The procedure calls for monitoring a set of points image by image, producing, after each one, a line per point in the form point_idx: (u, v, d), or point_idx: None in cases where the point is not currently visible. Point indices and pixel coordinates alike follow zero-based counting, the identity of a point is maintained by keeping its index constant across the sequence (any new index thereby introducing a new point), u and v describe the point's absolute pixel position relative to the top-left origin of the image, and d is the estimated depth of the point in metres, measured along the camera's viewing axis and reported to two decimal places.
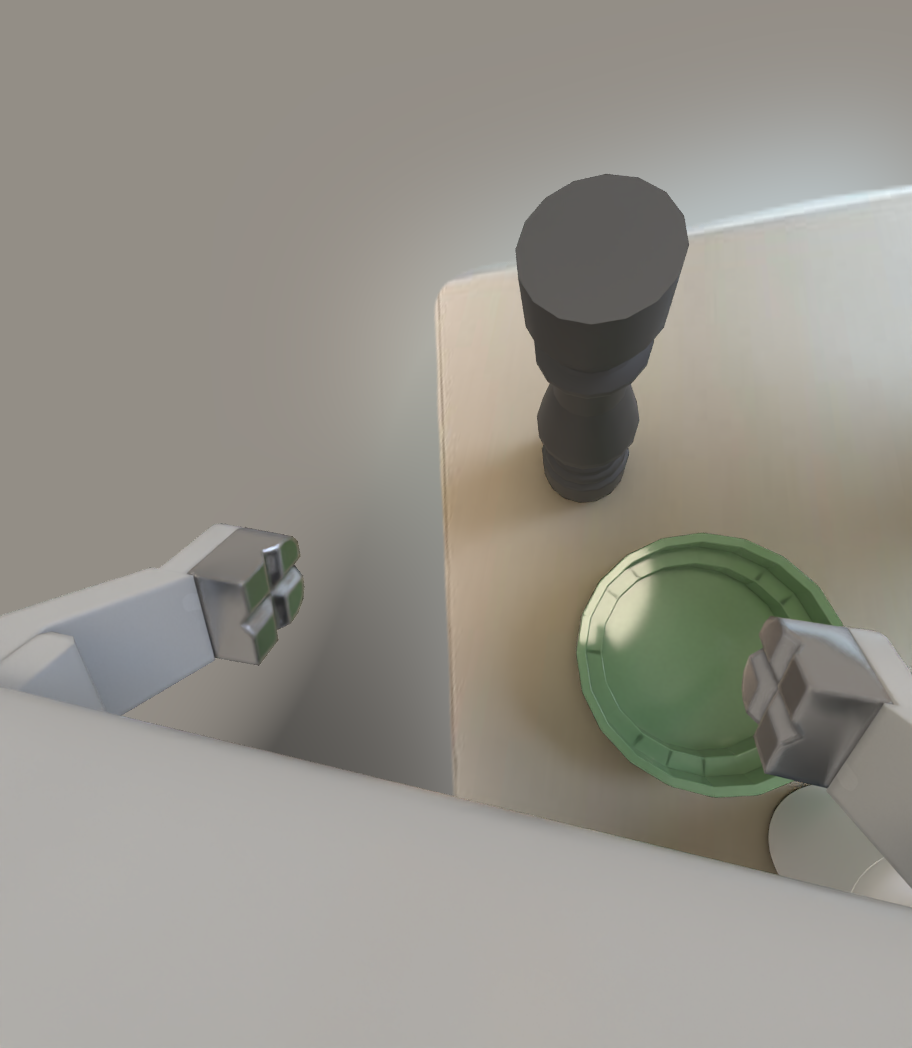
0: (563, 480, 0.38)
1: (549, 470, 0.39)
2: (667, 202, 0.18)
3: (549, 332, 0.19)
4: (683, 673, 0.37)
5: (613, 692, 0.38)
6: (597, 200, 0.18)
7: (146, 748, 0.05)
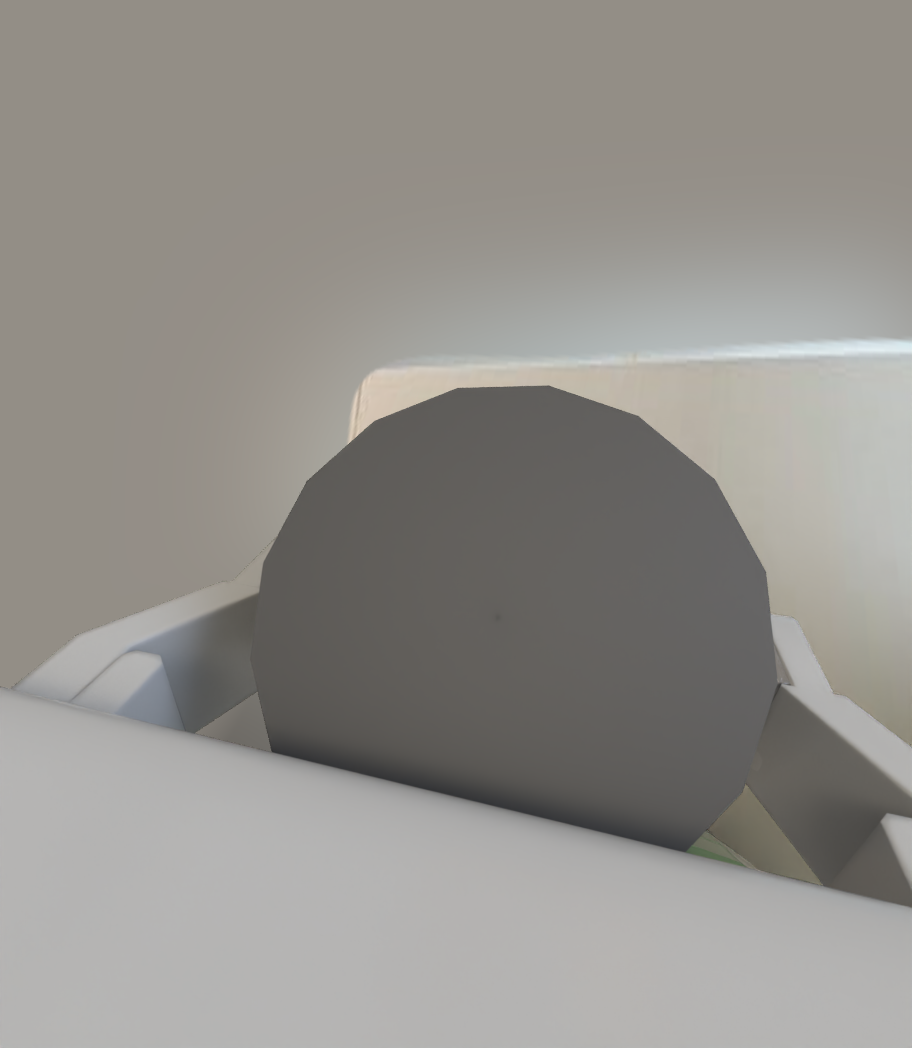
0: None
1: None
2: (717, 515, 0.06)
3: None
4: None
5: None
6: (514, 460, 0.06)
7: (146, 748, 0.05)
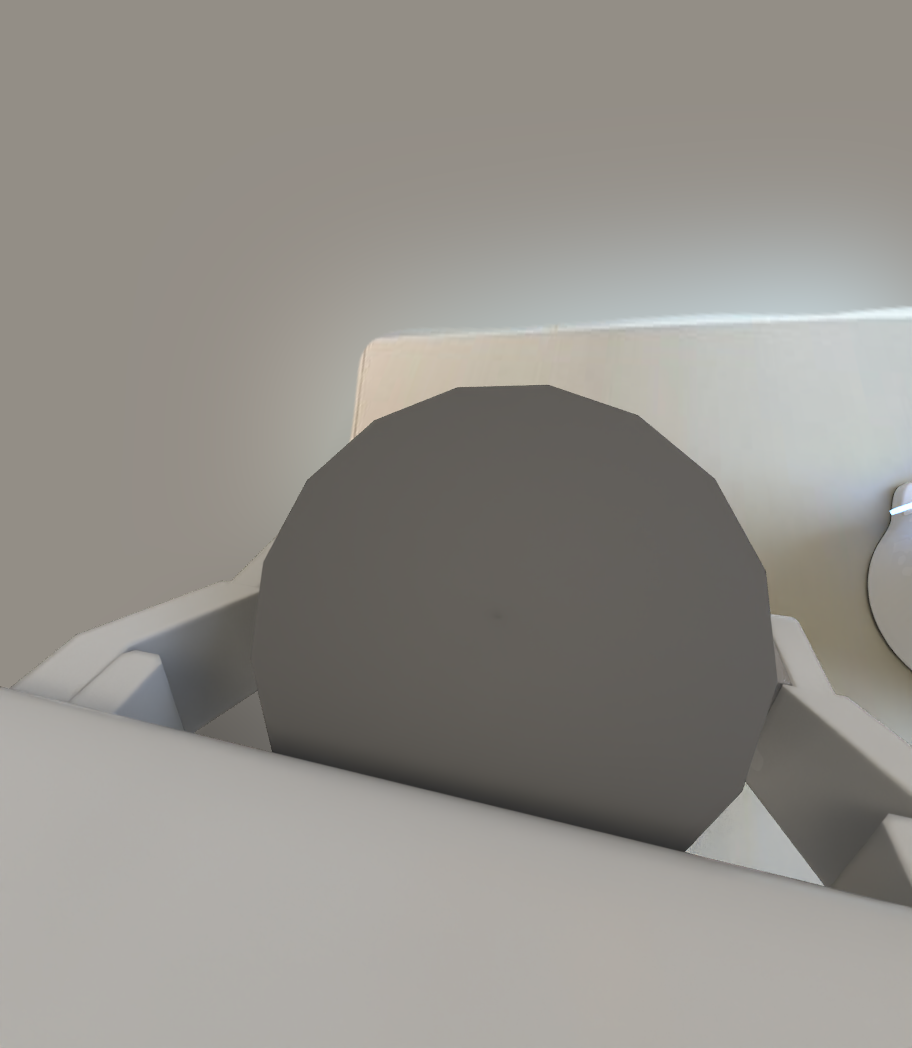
0: None
1: None
2: (717, 514, 0.06)
3: None
4: None
5: None
6: (514, 459, 0.06)
7: (146, 748, 0.05)
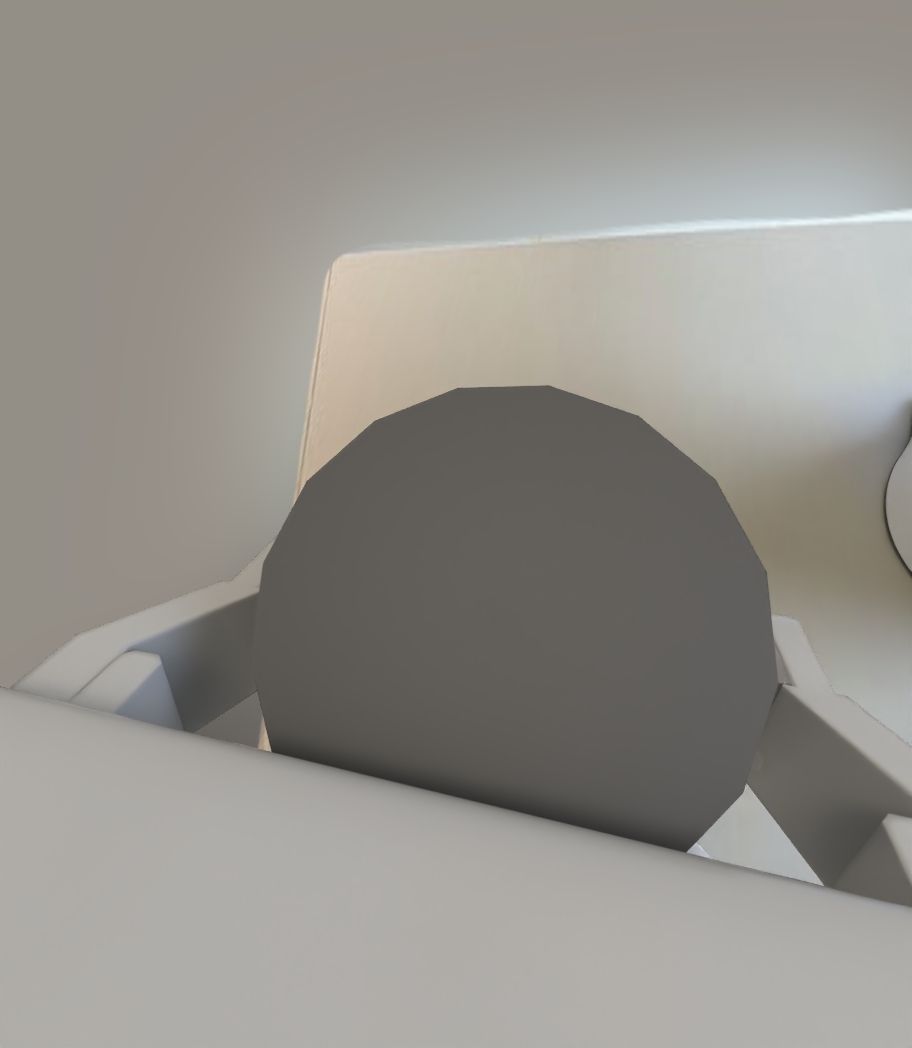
0: None
1: None
2: (718, 516, 0.06)
3: None
4: None
5: None
6: (514, 460, 0.06)
7: (146, 748, 0.05)
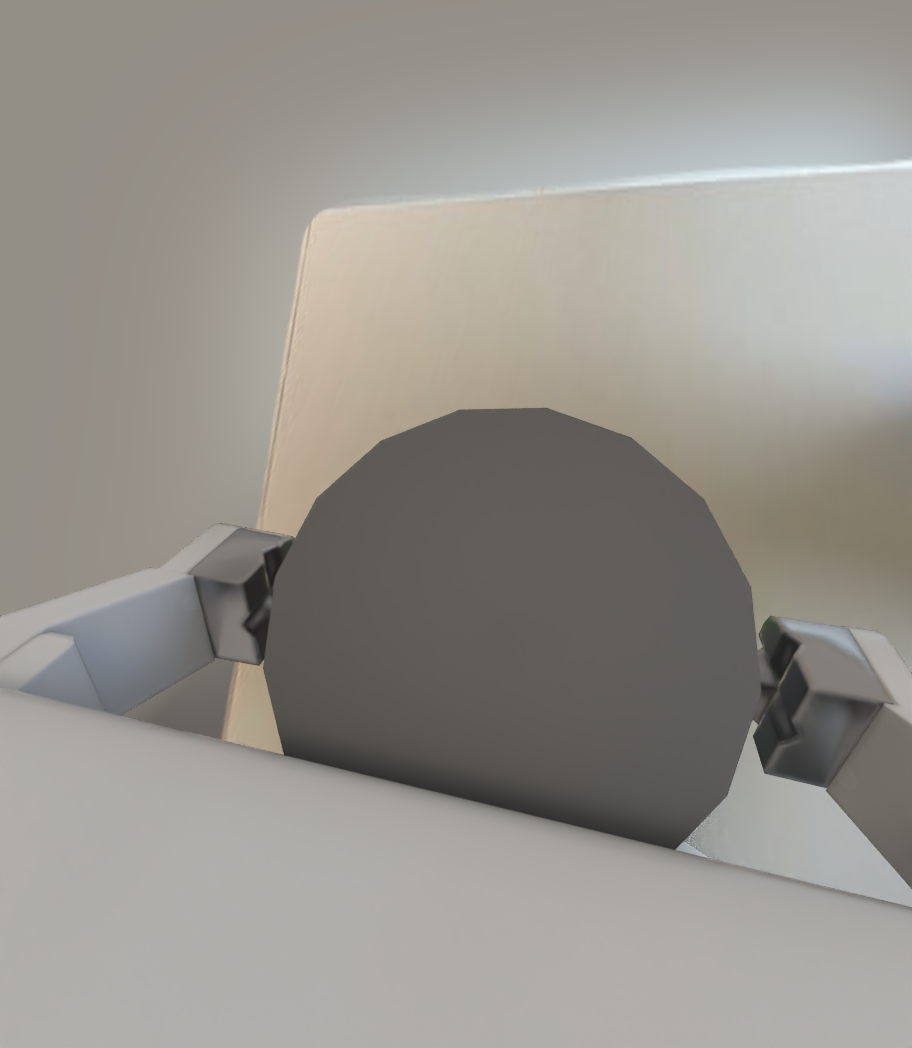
0: None
1: None
2: (705, 533, 0.06)
3: None
4: None
5: None
6: (513, 480, 0.07)
7: (146, 748, 0.05)
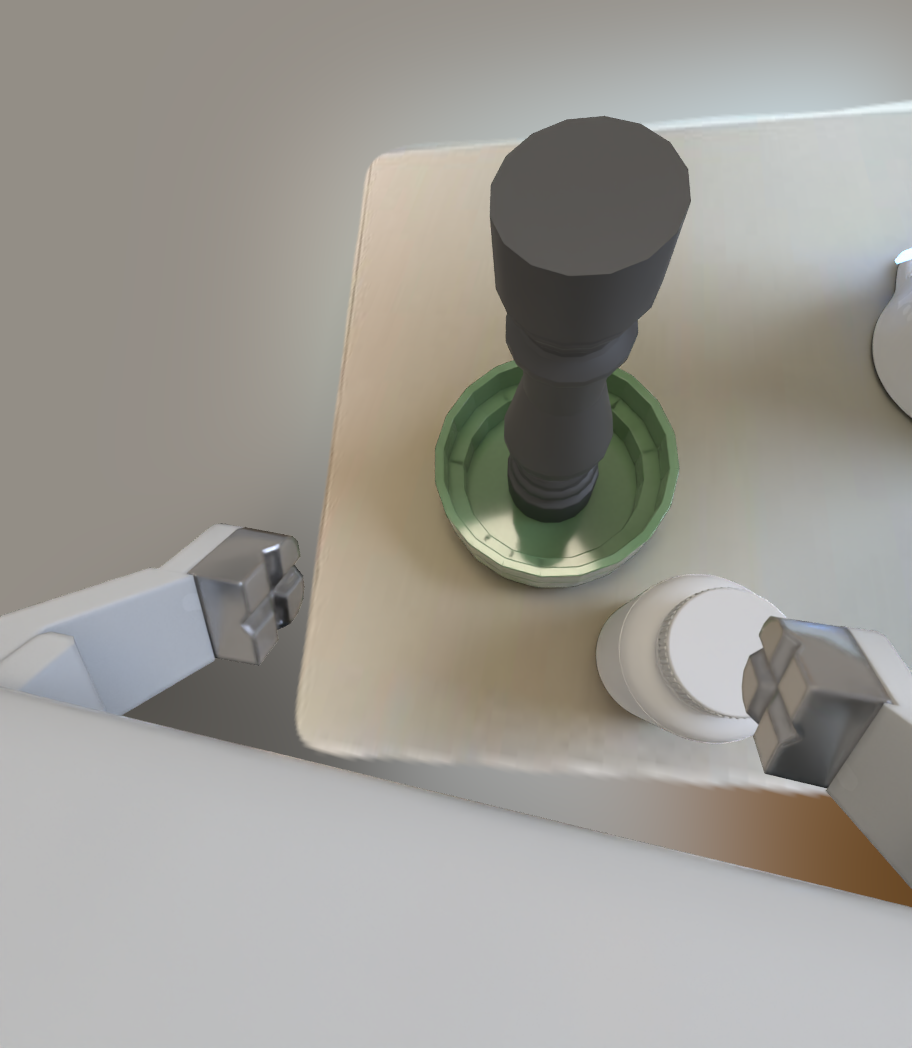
0: (526, 494, 0.35)
1: (512, 482, 0.36)
2: (670, 153, 0.15)
3: (520, 288, 0.16)
4: None
5: (474, 511, 0.39)
6: (591, 142, 0.16)
7: (146, 748, 0.05)
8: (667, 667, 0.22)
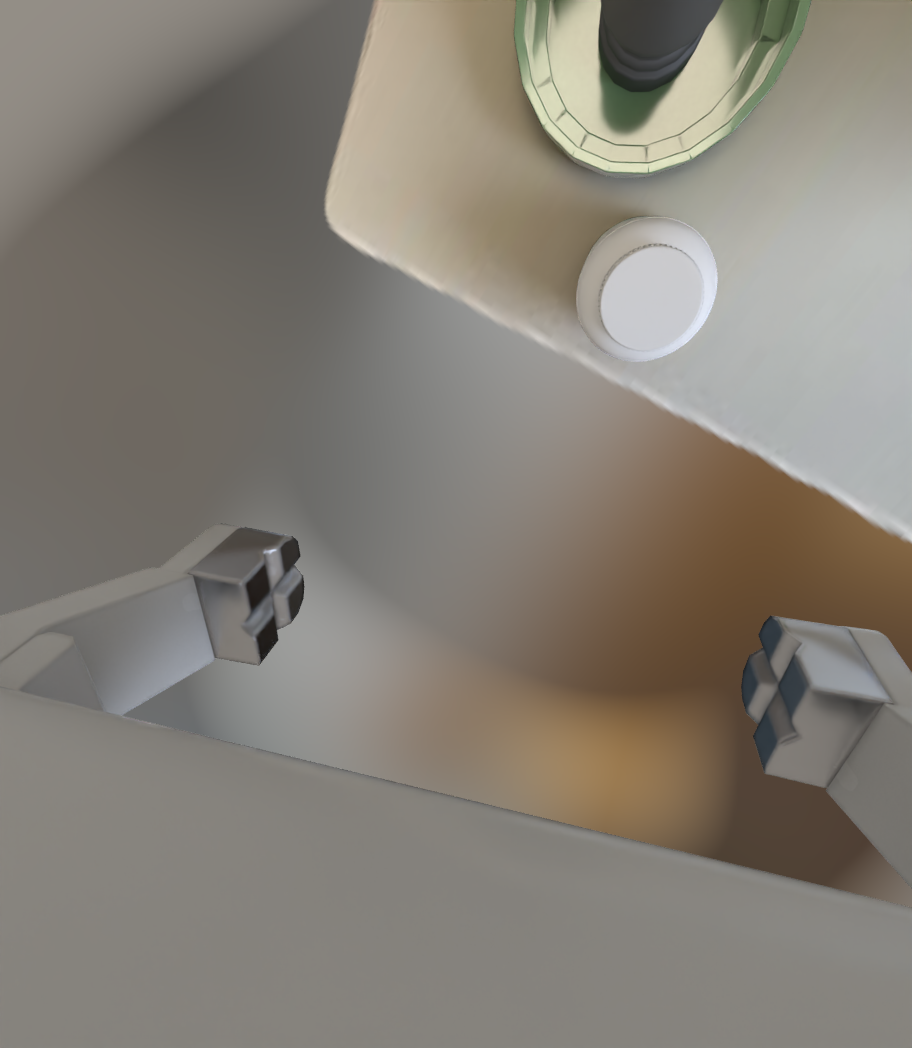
0: (607, 42, 0.31)
1: (601, 16, 0.31)
2: None
3: None
4: None
5: (552, 32, 0.34)
6: None
7: (147, 748, 0.05)
8: (599, 292, 0.29)
